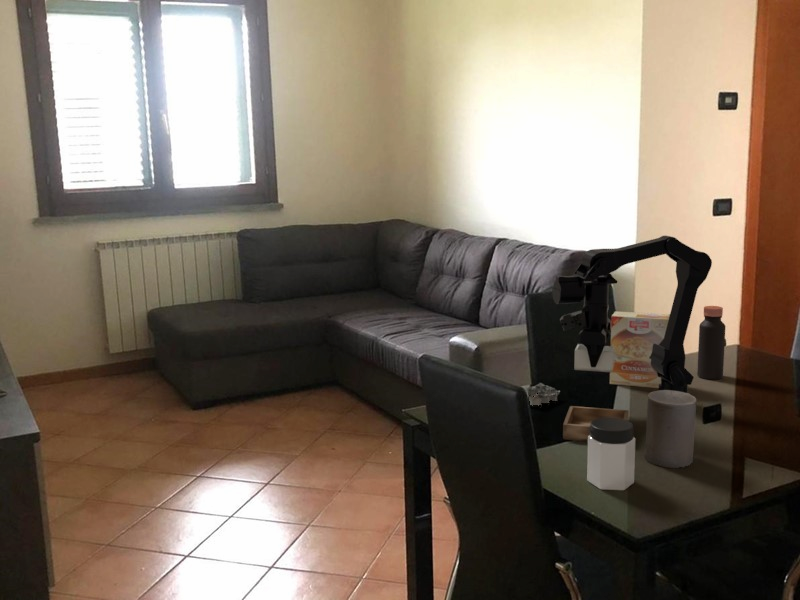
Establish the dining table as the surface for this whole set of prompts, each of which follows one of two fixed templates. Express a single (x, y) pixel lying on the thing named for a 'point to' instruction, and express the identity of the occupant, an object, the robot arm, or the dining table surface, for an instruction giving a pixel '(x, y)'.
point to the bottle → (711, 344)
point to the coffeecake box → (636, 347)
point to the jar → (611, 454)
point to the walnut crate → (586, 420)
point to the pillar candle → (670, 428)
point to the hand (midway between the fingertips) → (594, 363)
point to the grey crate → (603, 363)
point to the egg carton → (541, 394)
